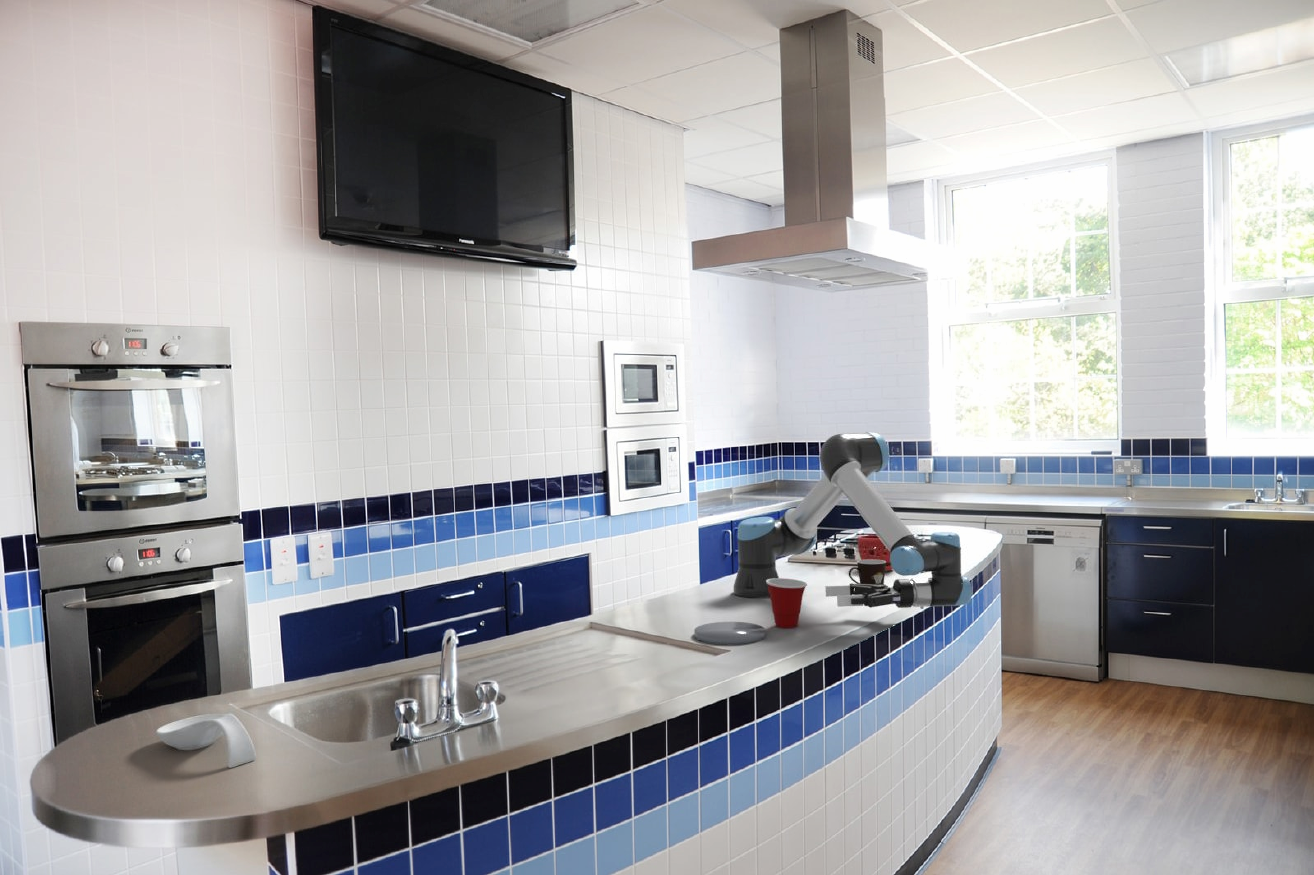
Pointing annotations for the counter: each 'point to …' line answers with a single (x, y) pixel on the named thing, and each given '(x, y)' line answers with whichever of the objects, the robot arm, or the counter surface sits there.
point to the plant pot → (874, 550)
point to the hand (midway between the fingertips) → (831, 596)
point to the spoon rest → (210, 735)
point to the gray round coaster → (729, 633)
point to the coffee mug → (870, 571)
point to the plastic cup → (786, 600)
